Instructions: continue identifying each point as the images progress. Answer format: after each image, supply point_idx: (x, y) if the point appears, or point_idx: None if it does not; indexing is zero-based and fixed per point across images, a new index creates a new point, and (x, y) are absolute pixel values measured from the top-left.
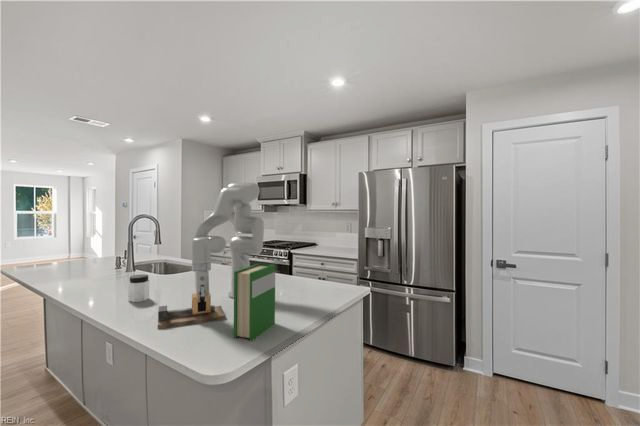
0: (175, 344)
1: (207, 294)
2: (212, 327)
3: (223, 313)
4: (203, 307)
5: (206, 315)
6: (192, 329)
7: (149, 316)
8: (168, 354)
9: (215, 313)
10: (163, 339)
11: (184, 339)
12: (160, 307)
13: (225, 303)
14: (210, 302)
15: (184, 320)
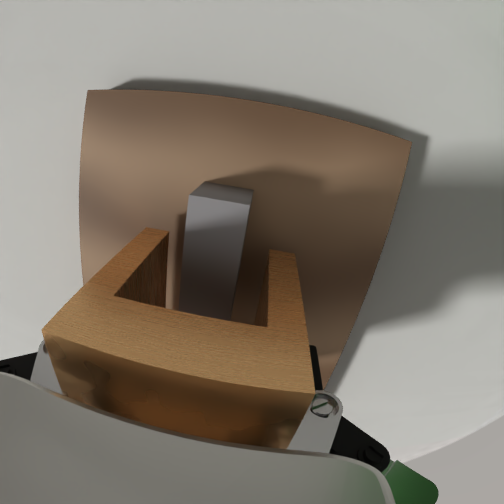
0: (470, 412)
1: (194, 407)
2: (466, 275)
3: (345, 129)
4: (315, 362)
5: (299, 281)
6: (407, 367)
7: None
8: (498, 417)
9: (296, 196)
10: (403, 441)
11: (466, 393)
12: None
13: (14, 51)
14: (302, 314)
15: None
